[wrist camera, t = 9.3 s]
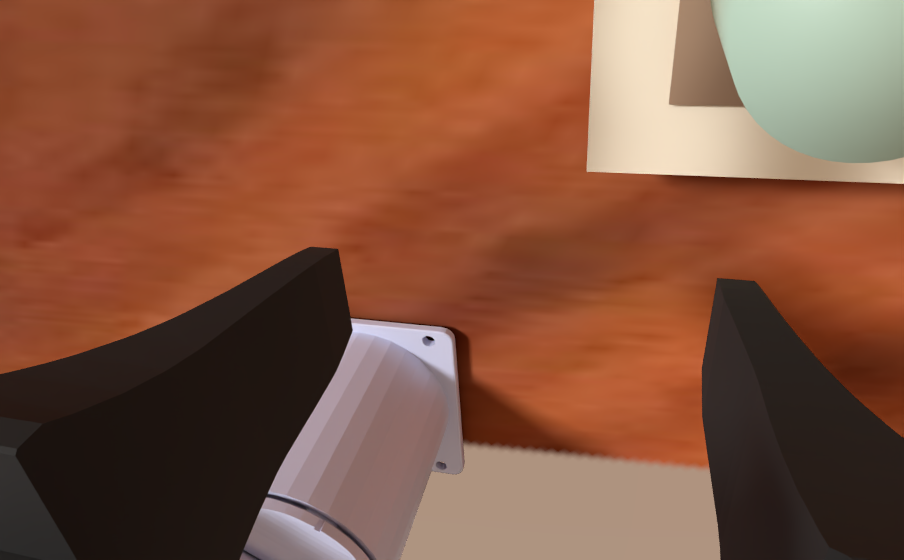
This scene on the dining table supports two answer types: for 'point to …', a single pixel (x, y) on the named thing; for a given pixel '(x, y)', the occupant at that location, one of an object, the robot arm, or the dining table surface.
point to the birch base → (685, 103)
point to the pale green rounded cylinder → (820, 73)
